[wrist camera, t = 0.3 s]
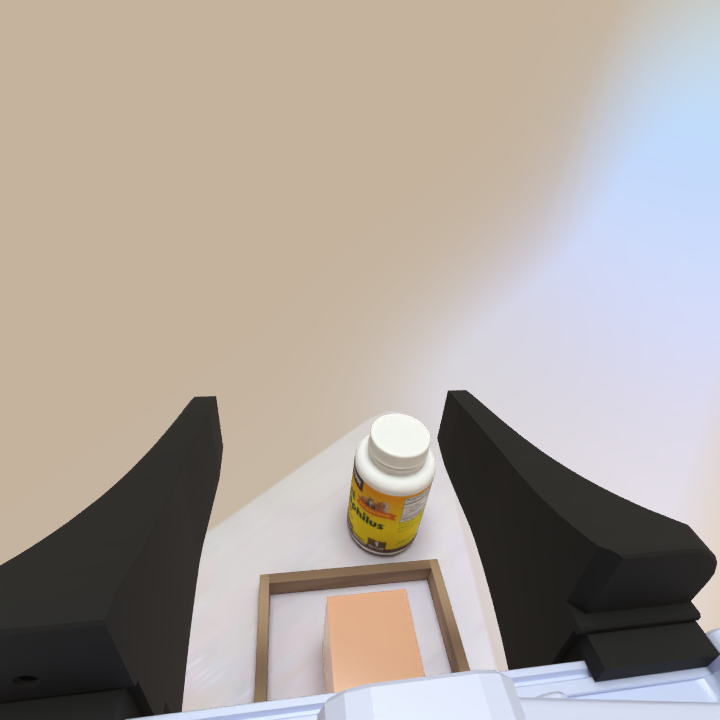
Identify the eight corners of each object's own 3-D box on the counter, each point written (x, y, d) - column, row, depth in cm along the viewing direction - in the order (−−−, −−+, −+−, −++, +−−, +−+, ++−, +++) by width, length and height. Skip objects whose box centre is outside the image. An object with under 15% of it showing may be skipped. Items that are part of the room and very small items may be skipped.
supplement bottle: (333, 514, 34) (341, 420, 28) (388, 485, 37) (406, 395, 31) (373, 573, 31) (392, 480, 25) (431, 537, 33) (461, 445, 27)
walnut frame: (500, 808, 22) (509, 802, 21) (249, 857, 19) (247, 853, 19) (433, 570, 31) (437, 559, 30) (261, 586, 29) (260, 574, 28)
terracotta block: (406, 722, 24) (426, 682, 21) (328, 734, 23) (334, 695, 20) (391, 635, 28) (405, 588, 24) (322, 644, 27) (326, 597, 23)
